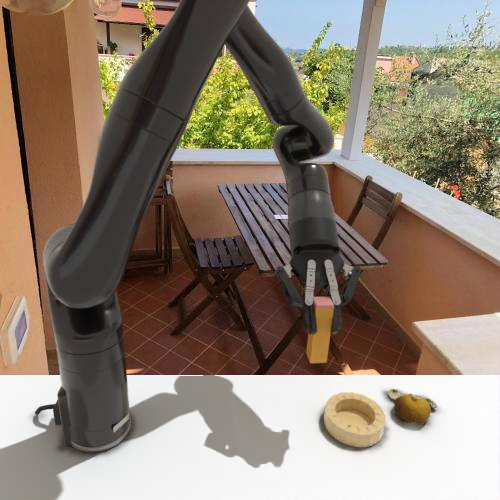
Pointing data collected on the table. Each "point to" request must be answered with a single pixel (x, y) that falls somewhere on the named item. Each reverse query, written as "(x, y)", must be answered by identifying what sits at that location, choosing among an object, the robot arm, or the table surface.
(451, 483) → the table surface
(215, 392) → the table surface
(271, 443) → the table surface
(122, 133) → the robot arm
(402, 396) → the fruit
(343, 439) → the bowl
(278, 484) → the table surface
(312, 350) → the pencil
